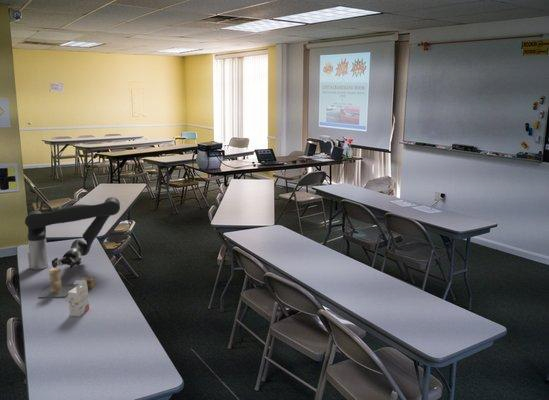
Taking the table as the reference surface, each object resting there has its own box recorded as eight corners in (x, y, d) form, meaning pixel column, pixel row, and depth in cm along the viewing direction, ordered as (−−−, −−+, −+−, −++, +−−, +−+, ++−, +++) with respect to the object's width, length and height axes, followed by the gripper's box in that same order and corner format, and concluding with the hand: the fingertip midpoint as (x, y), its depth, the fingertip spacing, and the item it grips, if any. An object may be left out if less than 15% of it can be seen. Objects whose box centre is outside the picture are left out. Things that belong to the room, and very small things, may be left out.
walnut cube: (82, 289, 248) (81, 280, 247) (84, 285, 253) (84, 277, 252) (91, 289, 249) (91, 280, 248) (94, 285, 254) (93, 276, 253)
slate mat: (38, 298, 237) (38, 296, 237) (47, 287, 249) (47, 286, 249) (65, 297, 238) (65, 296, 238) (73, 287, 251) (73, 286, 251)
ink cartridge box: (80, 308, 227) (78, 278, 224) (89, 309, 226) (87, 279, 223) (69, 315, 219) (66, 285, 216) (78, 317, 218) (76, 286, 215)
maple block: (51, 293, 241) (49, 270, 239) (53, 290, 245) (52, 267, 243) (59, 293, 242) (57, 270, 239) (61, 289, 246) (60, 267, 243)
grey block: (73, 295, 241) (73, 283, 240) (76, 291, 246) (76, 280, 245) (84, 294, 242) (83, 283, 241) (86, 290, 247) (86, 280, 245)
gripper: (58, 250, 267) (47, 259, 252) (84, 250, 269) (76, 259, 253) (59, 262, 269) (48, 273, 253) (85, 262, 270) (76, 273, 255)
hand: (62, 266), depth 253 cm, fingers open, 8 cm apart
